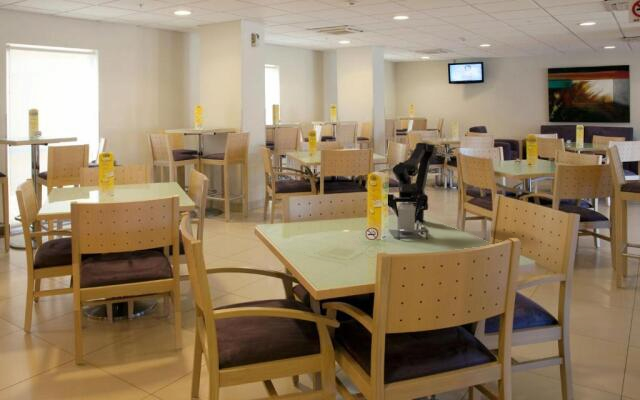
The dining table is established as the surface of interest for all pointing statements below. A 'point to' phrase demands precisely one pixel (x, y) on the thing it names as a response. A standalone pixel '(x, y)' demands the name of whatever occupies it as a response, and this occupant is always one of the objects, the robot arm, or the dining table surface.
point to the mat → (405, 234)
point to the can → (406, 216)
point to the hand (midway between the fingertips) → (406, 216)
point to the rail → (415, 230)
